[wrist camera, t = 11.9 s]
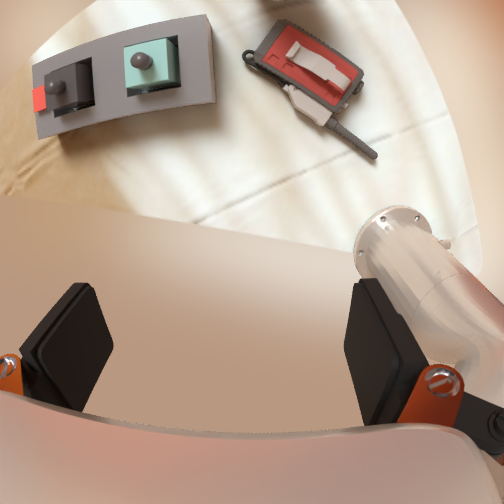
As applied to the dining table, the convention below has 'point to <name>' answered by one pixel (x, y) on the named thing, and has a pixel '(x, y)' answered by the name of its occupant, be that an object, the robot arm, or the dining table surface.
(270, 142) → the dining table surface
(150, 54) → the plug
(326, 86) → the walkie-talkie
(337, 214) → the dining table surface
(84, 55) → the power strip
